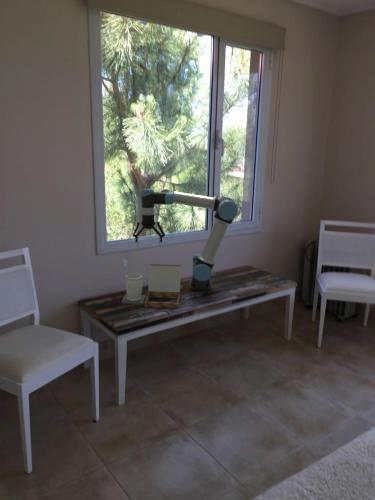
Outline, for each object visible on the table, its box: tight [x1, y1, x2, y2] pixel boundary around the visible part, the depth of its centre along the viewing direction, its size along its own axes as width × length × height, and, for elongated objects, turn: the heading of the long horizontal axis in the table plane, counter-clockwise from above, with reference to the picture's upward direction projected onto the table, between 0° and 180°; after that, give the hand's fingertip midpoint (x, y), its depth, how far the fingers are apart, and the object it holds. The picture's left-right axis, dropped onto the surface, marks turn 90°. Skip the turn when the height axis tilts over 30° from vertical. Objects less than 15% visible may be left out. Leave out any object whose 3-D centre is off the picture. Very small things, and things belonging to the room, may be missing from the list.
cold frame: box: [144, 291, 181, 309], centre depth 255 cm, size 20×17×3 cm
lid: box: [148, 263, 182, 293], centre depth 263 cm, size 20×17×1 cm
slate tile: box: [120, 294, 147, 306], centre depth 257 cm, size 13×13×1 cm
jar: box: [124, 272, 143, 301], centre depth 255 cm, size 11×10×15 cm
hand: (149, 247), depth 262 cm, fingers open, 13 cm apart
